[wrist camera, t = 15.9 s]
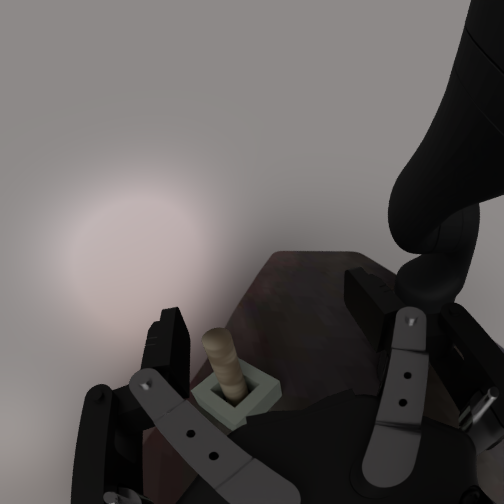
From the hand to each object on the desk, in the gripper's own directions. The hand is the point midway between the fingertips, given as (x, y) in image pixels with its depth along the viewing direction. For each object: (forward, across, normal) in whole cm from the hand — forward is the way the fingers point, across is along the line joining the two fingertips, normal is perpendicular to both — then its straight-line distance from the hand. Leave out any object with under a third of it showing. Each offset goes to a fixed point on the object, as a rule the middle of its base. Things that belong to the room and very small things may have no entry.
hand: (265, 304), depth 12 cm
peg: (+15, +6, +32) cm, 36 cm away
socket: (+15, +6, +32) cm, 36 cm away
